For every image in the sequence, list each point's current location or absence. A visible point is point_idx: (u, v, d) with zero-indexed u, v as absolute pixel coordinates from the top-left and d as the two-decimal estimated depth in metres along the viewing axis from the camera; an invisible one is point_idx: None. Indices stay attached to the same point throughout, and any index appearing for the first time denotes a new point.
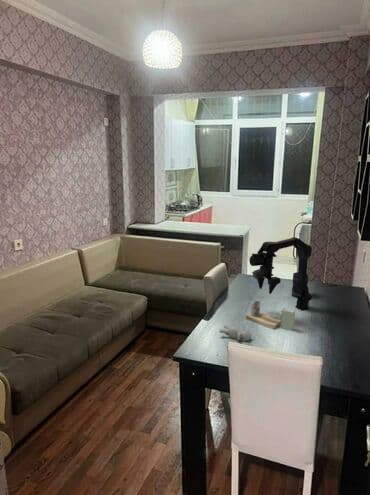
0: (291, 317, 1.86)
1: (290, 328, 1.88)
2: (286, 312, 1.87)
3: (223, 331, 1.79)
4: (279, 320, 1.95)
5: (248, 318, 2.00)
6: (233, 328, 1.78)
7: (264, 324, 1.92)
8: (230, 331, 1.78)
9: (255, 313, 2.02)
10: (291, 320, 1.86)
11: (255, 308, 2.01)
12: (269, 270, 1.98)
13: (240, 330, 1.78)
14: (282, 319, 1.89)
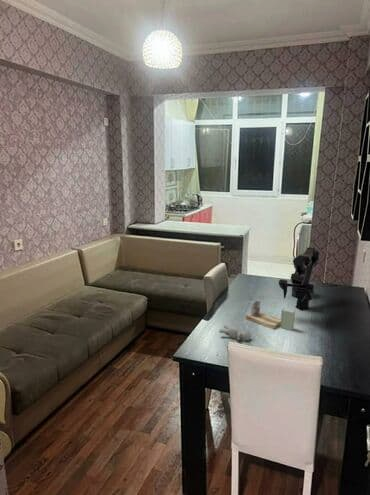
0: (291, 317, 1.86)
1: (290, 328, 1.88)
2: (286, 312, 1.87)
3: (223, 331, 1.79)
4: (279, 320, 1.95)
5: (248, 318, 2.00)
6: (233, 328, 1.78)
7: (264, 324, 1.92)
8: (230, 331, 1.78)
9: (255, 313, 2.02)
10: (291, 320, 1.86)
11: (255, 308, 2.01)
12: (303, 279, 1.98)
13: (240, 330, 1.78)
14: (282, 319, 1.89)
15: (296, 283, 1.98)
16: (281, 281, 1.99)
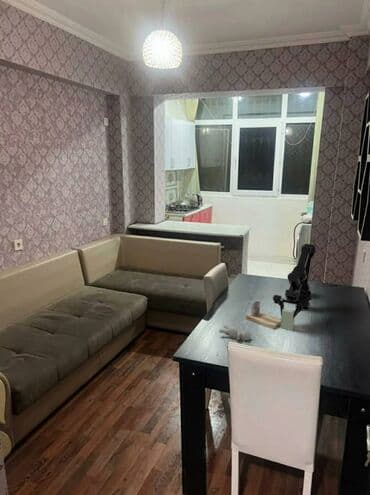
0: (291, 317, 1.86)
1: (290, 328, 1.88)
2: (286, 312, 1.87)
3: (223, 331, 1.79)
4: (279, 320, 1.95)
5: (248, 318, 2.00)
6: (233, 328, 1.78)
7: (264, 324, 1.92)
8: (230, 331, 1.78)
9: (255, 313, 2.02)
10: (291, 320, 1.86)
11: (255, 308, 2.01)
12: None
13: (240, 330, 1.78)
14: (282, 319, 1.89)
15: (291, 299, 1.91)
16: (275, 297, 1.93)
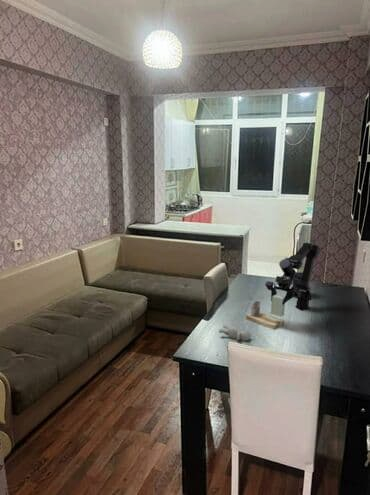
0: (280, 304, 1.88)
1: (280, 314, 1.89)
2: (276, 298, 1.89)
3: (222, 331, 1.79)
4: (279, 320, 1.95)
5: (248, 318, 2.00)
6: (232, 328, 1.78)
7: (264, 324, 1.92)
8: (229, 331, 1.78)
9: (255, 313, 2.02)
10: (280, 306, 1.88)
11: (255, 308, 2.01)
12: (290, 282, 1.92)
13: (239, 330, 1.78)
14: (272, 305, 1.91)
15: (283, 286, 1.93)
16: (267, 283, 1.95)
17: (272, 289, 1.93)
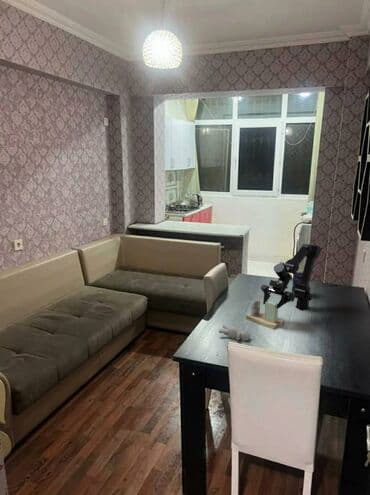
0: (273, 310, 1.91)
1: (272, 320, 1.92)
2: (269, 304, 1.92)
3: (222, 331, 1.79)
4: (279, 320, 1.95)
5: (248, 318, 2.00)
6: (232, 328, 1.78)
7: (264, 324, 1.92)
8: (229, 331, 1.78)
9: (255, 313, 2.02)
10: (273, 312, 1.91)
11: (255, 308, 2.01)
12: (285, 287, 1.94)
13: (239, 330, 1.78)
14: (265, 311, 1.95)
15: (277, 290, 1.95)
16: (262, 286, 1.99)
17: (265, 292, 1.97)
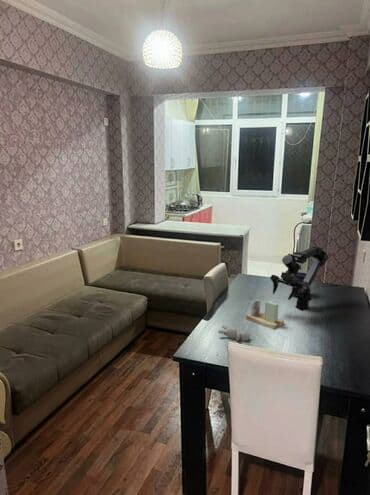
0: (273, 310, 1.91)
1: (272, 320, 1.92)
2: (269, 304, 1.92)
3: (222, 332, 1.78)
4: (279, 320, 1.95)
5: (248, 318, 2.00)
6: (232, 328, 1.78)
7: (264, 324, 1.92)
8: (229, 331, 1.77)
9: (255, 313, 2.02)
10: (273, 312, 1.91)
11: (255, 308, 2.01)
12: (294, 277, 2.00)
13: (239, 330, 1.78)
14: (265, 311, 1.95)
15: (287, 280, 2.01)
16: (272, 277, 2.03)
17: (274, 282, 2.02)
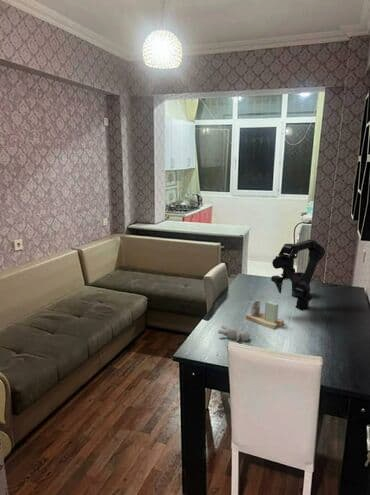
0: (273, 310, 1.91)
1: (272, 320, 1.92)
2: (269, 304, 1.92)
3: (222, 332, 1.78)
4: (279, 320, 1.95)
5: (248, 318, 2.00)
6: (232, 329, 1.78)
7: (264, 324, 1.92)
8: (229, 332, 1.77)
9: (255, 313, 2.02)
10: (273, 312, 1.91)
11: (255, 308, 2.01)
12: None
13: (239, 330, 1.78)
14: (265, 311, 1.95)
15: None
16: (279, 281, 1.99)
17: (281, 284, 2.01)
